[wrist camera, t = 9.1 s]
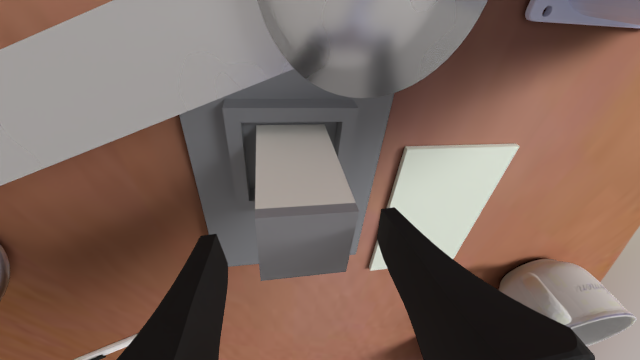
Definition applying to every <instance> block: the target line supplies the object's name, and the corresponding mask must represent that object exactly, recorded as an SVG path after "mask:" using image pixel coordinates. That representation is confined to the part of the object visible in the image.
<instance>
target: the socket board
mask: <svg viewBox="0 0 640 360" xmlns="http://www.w3.org/2000/svg"><path fill="white" fill-rule="evenodd" d="M393 97H394V93H392V94H389V95H385V96H379V97H374V98H352V97H346V96H341V95H336V94H334V93H331V92H328V91H326V90H323V89H322V88H320V87H318V86H316V85H314V84H312V83H311V82H310V81H308V80H307V79H305V78H304V77H303V76H301V75H300V74H299V73H298V72H297V71H296V70H295V69H292V70H290V71H287V72H285V73H282V74H280V75H277V76H275V77H272V78H270V79H267V80H265V81H262V82H260V83H257V84H255V85H252V86H250V87H247V88H245V89H242V90H240V91H237V92H235V93H232V94H230V95H227V96H225V97H222V98H220V99H217V100H215V101H212V102H210V103H207V104H205V105H202V106H199V107H197V108H194V109H192V110H189V111H187V112H184V113H182V114H179V116H180V120H181V124H182V128H183V132H184V136H185V140H186V144H187V148H188V152H189V156H190V160H191V164H192V168H193V172H194V176H195V180H196V184H197V188H198V192H199V196H200V200H201V204H202V208H203V212H204V216H205V220H206V225H207V229H208V233H209V235H211V234H217V237H218V239H219V242H220V244H221V247H222V249H223V252H224V254H225V257H226V259H227V262H228V267H230V266H240V265H251V264H259V256H258V246H257V236H256V225H255V178H256V125H317V124H324V125H325V127H326V130H327V132H328V135H329V137H330V140H331V142H332V145H333V147H334V150H335V152H336V155H337V157H338V160H339V162H340V165H341V167H342V170H343V172H344V175H345V177H346V180H347V182H348V185H349V187H350V190H351V192H352V195H353V197H354V200H355V202H356V205H357V207H358V210H359V214H358V219H357V223H356V228H355V232H354V237H353V241H352V246H351V251H350V255H353V254H356V251H357V246H358V242H359V238H360V234H361V230H362V226H363V221H364V217H365V213H366V209H367V205H368V201H369V196H370V192H371V188H372V184H373V180H374V176H375V172H376V167H377V163H378V159H379V155H380V151H381V147H382V142H383V138H384V134H385V130H386V126H387V122H388V117H389V113H390V109H391V105H392V101H393Z"/></svg>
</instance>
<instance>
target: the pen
mask: <svg viewBox="0 0 640 360" xmlns="http://www.w3.org/2000/svg"><path fill="white" fill-rule="evenodd" d="M137 334H138V333H137ZM137 334H135V335H133V336H130V337H128V338H125V339H123V340H120V341H118V342H115V343H113V344H110V345H108V346H105V347H103V348H100V349H98V350H95V351H93V352H90V353H88V354H85V355H83V356H80V357H78V358H75V359H73V360H100V359H102V358H105V357H106V356H105V355H107V354H110V353H112V352H115V351H117V350H120V349H122V348H125V347H127V346H128V345H129V344H130V343H131V342H132V340H133V339H134V338H135V337H136V336H137Z"/></svg>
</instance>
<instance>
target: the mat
mask: <svg viewBox="0 0 640 360" xmlns="http://www.w3.org/2000/svg"><path fill="white" fill-rule="evenodd" d="M518 148H519V146H518V145H517V144H480V145H442V146H405V148H404V152H403V155H402V158H401V162H400V165H399V168H398V172H397V175H396V178H395V182H394V185H393V188H392V192H391V195H390V198H389V202H388V205H387V208H392V207H395V208H396V209H397V210H398V211H399V212H400V213H401V214H402V215H403V216H404V217H405V218H406V219H407V220H408V221H409V222H411V223H412V224H413V225H414V226H415V227H416V228H417V229H418V230H419V231H420V232H421V233H422V234H423V235H425V236H426V237H427V238H428V239H429V240H430V241H431V242H432V243H434V244H435V245H436V246H437V247H438V248H439V249H441V250H442V251H443V252H444V253H446V254H447V255H448V256H449V257H451V258H452V259H454V257H455V255H456V254H457V252H458V250H459V248H460V247H461V245H462V243H463V242H464V240H465V238H466V237H467V235H468V233H469V231H470V230H471V228H472V226H473V225H474V223H475V221H476V220H477V218H478V216H479V214H480V213H481V211H482V209H483V208H484V206H485V204H486V203H487V201H488V199H489V197H490V196H491V194H492V192H493V191H494V189H495V187H496V186H497V184H498V182H499V180H500V179H501V177H502V175H503V174H504V172H505V170H506V169H507V167H508V165H509V163H510V162H511V160H512V158H513V157H514V155H515V153H516V152H517V150H518ZM369 269H370V271H371V270H380V269H388V268H387V266H386V264H385V262H384V259H383V256H382V253H381V250H380V247H379V244H378V241H377V242H376V245H375V248H374V252H373V255H372V258H371V262H370V265H369Z"/></svg>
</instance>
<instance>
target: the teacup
mask: <svg viewBox="0 0 640 360" xmlns="http://www.w3.org/2000/svg"><path fill="white" fill-rule="evenodd" d="M498 290H499V291H501V292H502V293H504V294H506V295H507V296H509V297H511V298H513V299H514V300H516V301H518V302H520V303H522V304H523V305H525V306H527V307H529V308H531V309H533V310H535V311H537V312H539V313H541V314H543V315H545V316H547V317H549V318H551V319H553V320H555V321H557V322H559V323H561V324H563V325H565V326H567V327H570V328H571V329H572V330H573V331H574V332H575V334H576V335H577V336H578V337H579V338H580V339H581V340H582V342H583V343H584V344H585V345H586V346H590V345H593V344H596V343H598V342H601V341H603V340H605V339H607V338H610V337H612V336H614V335H616V334H618V333H620V332H622V331H624V330H625V329H627V328H629V327H630V326H631V325H632V324H633V323H634V322H635V321H636V317H635V316H634V315H633V314H632V313H630V312H629V311H627V310H626V309H625V307H623V305H622V304H621V303H620V302H619V301H618V300H617V299H616V298H615V297H614V296H613V295H612V294H611V293H610V292H609V291H608V290H607V289H606V288H605V287H604V286H603V285H602V284H601V283H600V282H599V281H598V280H597V279H596V278H595V277H593V276H592V275H591V274H590V273H589V272H588V271H586V270H585V269H583V268H582V267H580V266H578V265H576V264H573V263H569V262H562V261H556V260H552V259H540V260H535V261H532V262H529V263H526V264H524V265H521V266H519V267H517V268H515V269H514V270H512V271H510V272H509V273H508V274H506V275H505V276H504V277H503V279H502V280H501V282H500V287H499V289H498Z"/></svg>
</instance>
